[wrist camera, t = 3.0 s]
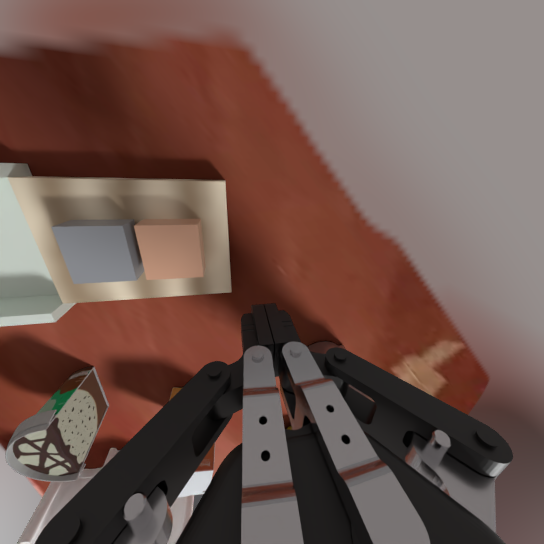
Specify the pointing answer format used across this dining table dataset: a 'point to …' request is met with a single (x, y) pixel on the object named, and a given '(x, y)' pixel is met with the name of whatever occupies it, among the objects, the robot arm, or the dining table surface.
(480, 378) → the dining table surface
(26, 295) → the tray
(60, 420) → the food container
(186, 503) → the bracket
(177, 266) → the tile
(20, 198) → the beige slab
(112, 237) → the tile
